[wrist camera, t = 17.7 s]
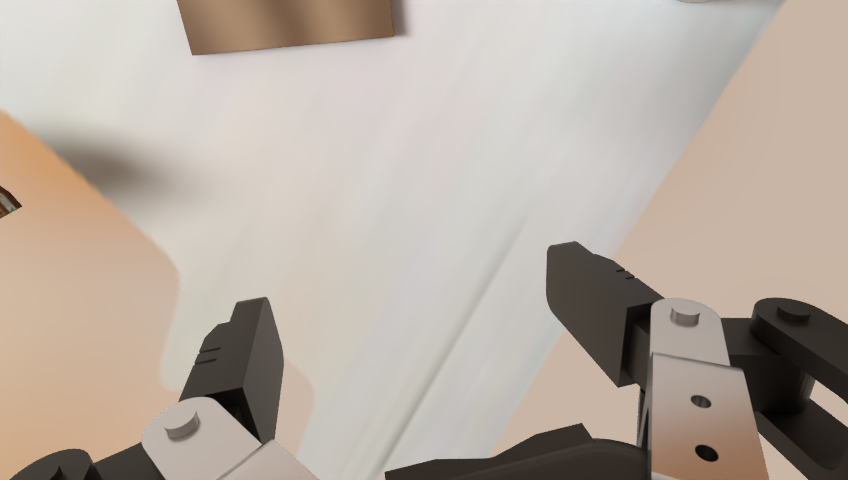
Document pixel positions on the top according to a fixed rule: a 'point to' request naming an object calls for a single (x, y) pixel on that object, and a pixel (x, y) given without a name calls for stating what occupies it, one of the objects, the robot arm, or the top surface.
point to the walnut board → (280, 23)
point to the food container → (7, 203)
